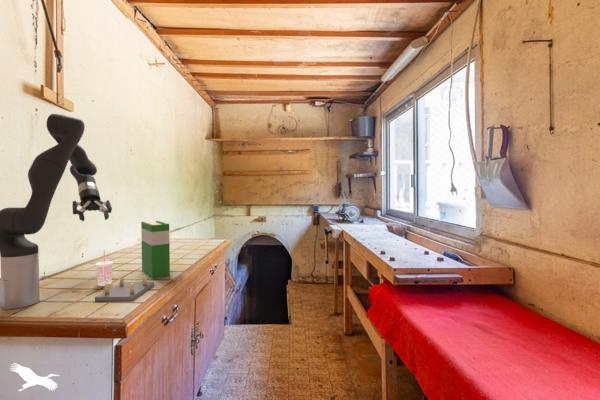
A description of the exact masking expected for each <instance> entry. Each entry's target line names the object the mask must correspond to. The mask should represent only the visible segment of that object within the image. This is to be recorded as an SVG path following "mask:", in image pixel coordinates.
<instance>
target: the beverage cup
mask: <svg viewBox="0 0 600 400" xmlns="http://www.w3.org/2000/svg"><path fill="white" fill-rule="evenodd" d="M113 265H114V261H112V260H106V250H103V261H99V262H97V263H96V262H95V267H96V275H97V276H96V277H97V286H98V287H99V286H100V287H105V284H106V283H109V286H110V285H111V284H112V282H113V281H112V280H113Z"/></svg>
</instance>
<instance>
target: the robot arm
mask: <svg viewBox="0 0 600 400" xmlns="http://www.w3.org/2000/svg"><path fill="white" fill-rule="evenodd" d="M45 124H46V128H47V129H46V130H47V131H48V133H49V135H51V137H52V138H53V139H54V140H55V142H56V143H57V144H55V146H52V147H50V148H48V149H46V150H44V151H42V152H41V153H39V154H38V155H37V156H35V158H34V160H33V161H32V164H30V167H29V169H28V172H27V179H28V182H29V184H30V188H31V195H30V198H29V199H28V202H27V204H26V206H25V207H5V208H2V209H0V308H1V309H2V310H4V311H8V310H12V309H13V310H14V309H15V310H16V309H20V308H25V307H30V306H32V305H35V304H37V303H38V302H39V301H41V299H40V297H41V293H40V263H39V262H40V259H39V257H40V256H39V251H40V250H39V245H38V244H37V243H35V242H32V241H30V240H28V239H27V237H26V236H27V235H34V234H37V233H39V231H41V229H42V228H43V226H44V225H45V222H46V219H47V216H48V213H49V209H50V207H51V203H52V201H53V197H54V195H55V193H56V190H57V188H58V185H59V183H60V181H61V179H62V178H63V175H64V173H65V171H66V167H67V165H68V163H69V162H70V164H71V165H70V167H69V173H70V174H71V175H72V177H73V178H74V179H75V180H76V183H77V187H78V189H77V190H78V196H79V200H80V202H78V201H76V200H73V201H72V204H71V205H72V206H71V207H72V214H73V215H78V218H79V220H80V221H81V222H85V213H86V212H87V211H88V212H91V211H95V212H96V211H98V212H100V213H102V214H103V218H104V220H105V221H107V220H108V219H109V217H110V215H109V214H112V210H113V207H112V204H111V201H110V200H106V201H102V200H101V196H100V193H99V191H100V190H99V188H98V186H97V182H96V179H95V178H94V176H95V175H96V174H97V173H98V169H97V166H96V165H95V164H94V162H92V161H91V160H90V159H89V158H88V157H89V156H88V154H87V152H86V150H85V149H84V148H83V147H82V146H81V145H80V144H79V143H80V141H81V139H82V137H83V135H84V132H85V126H86V125H85V122H84V121H83V120H82V119H80V118H78V117H75V116H70V115H66V114H61V113H60V114H59V113H52V114H50V115H49V116H48V117H47V120H46V123H45ZM79 206H80V207H81V208H80V209H78V208H79Z"/></svg>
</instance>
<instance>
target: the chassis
mask: <svg viewBox="0 0 600 400" xmlns="http://www.w3.org/2000/svg"><path fill="white" fill-rule="evenodd" d="M147 276H148V275H143V276H142V281H124V279H125V278H124V275H120V276H119V283H118V284H116V285H115V286H112V287H111V288H110V285H109V283H106V284H105V286H104V292H102V293H100V294H98V295H96V296H94V302H132V301H134V300H136V299H137V298H139V297H140V296H142V295H143V294H144V293H146V292H147V291H149V290H150V289H151V288H153V287H154V286H155V281H148V279H147V278H148V277H147ZM148 289H149V290H148Z"/></svg>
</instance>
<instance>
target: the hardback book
mask: <svg viewBox="0 0 600 400" xmlns="http://www.w3.org/2000/svg"><path fill="white" fill-rule="evenodd" d="M140 223H141V271H142V272H143V273H144V274H145V276H148V277H149V278H150V279H151V280H157V279H162V278H166V277H170V276H171V269H170V267H171V266H170V264H171V263H170V261H171V259H170V247H171V246H170V244H171V243H170V223H167V222H163V221H160V220H156V221H155V222H145V221H141V222H140Z"/></svg>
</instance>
